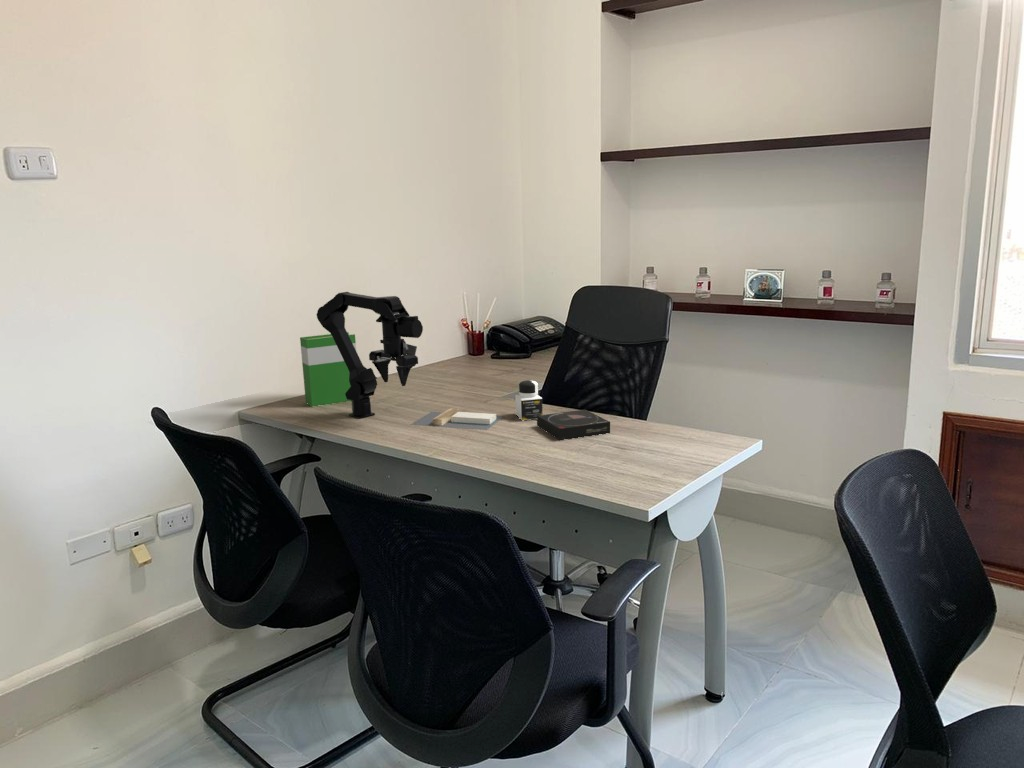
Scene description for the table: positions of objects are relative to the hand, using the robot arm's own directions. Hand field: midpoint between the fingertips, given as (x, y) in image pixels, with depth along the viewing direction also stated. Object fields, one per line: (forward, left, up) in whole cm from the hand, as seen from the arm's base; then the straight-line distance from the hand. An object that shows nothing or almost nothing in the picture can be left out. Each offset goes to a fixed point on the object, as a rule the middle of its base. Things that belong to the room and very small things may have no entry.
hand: (394, 384), depth 248 cm
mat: (+18, +11, -12) cm, 24 cm away
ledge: (+14, +9, -12) cm, 20 cm away
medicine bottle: (+32, +29, -12) cm, 45 cm away
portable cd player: (+52, +27, -13) cm, 60 cm away
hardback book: (-39, +1, -12) cm, 41 cm away
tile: (+23, +13, -10) cm, 28 cm away
